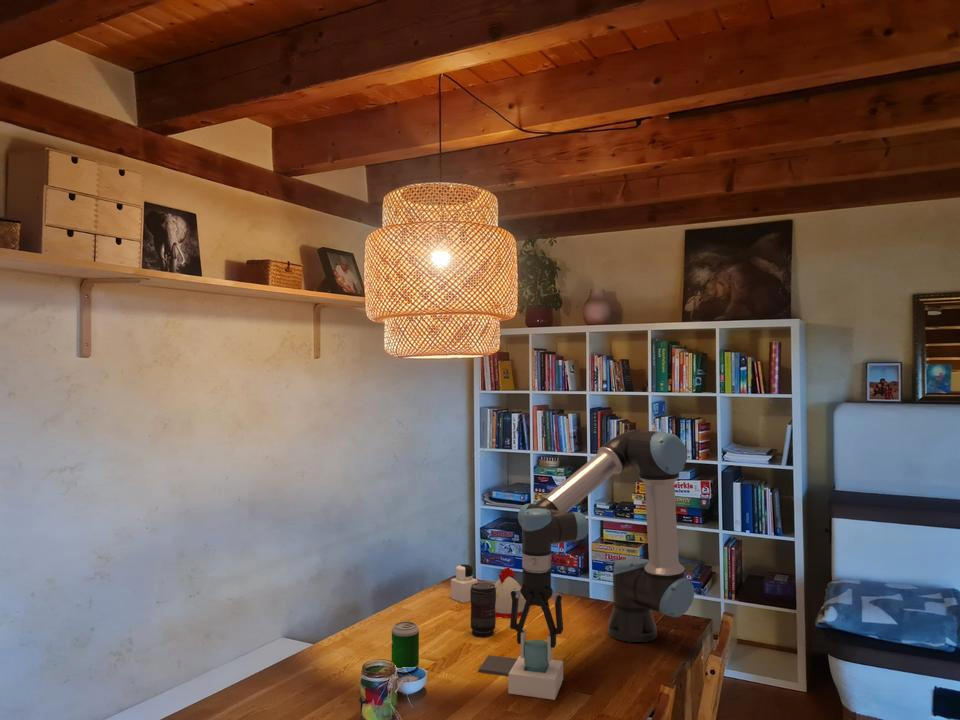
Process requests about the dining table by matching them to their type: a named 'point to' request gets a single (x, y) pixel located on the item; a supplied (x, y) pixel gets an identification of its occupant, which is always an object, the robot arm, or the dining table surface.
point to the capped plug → (536, 655)
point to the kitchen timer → (507, 594)
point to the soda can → (405, 645)
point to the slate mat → (497, 665)
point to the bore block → (535, 680)
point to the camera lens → (483, 609)
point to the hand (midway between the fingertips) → (536, 657)
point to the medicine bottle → (462, 583)
